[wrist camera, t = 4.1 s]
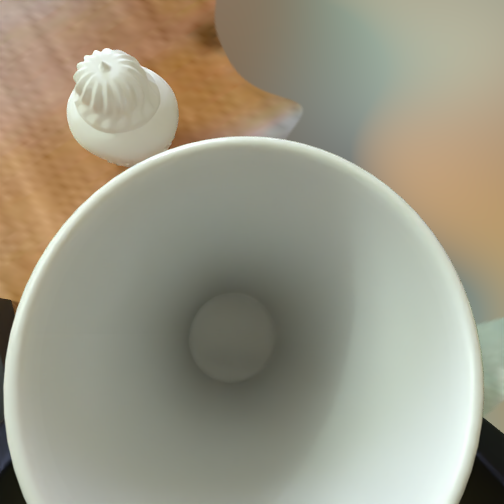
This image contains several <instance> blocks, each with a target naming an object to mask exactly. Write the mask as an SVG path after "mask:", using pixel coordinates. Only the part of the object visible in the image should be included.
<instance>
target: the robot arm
mask: <svg viewBox="0 0 504 504" xmlns="http://www.w3.org/2000/svg"><path fill="white" fill-rule="evenodd" d="M0 504H27V503H26V501H25V499H24V497H23V494H22V491H21V489H20V486H19V483H18V480H17V477H16V474H15V471H14V468H13V464H12V459H11V455H10V451H9V446H8V442H7V434H6V426H5V418H4V419H3V420H2V421H1V422H0ZM459 504H504V434H503V433H502V432H500V430H498V429H497V428H496V427H494V426H493V425H492V424H491V423H489V422H488V421H487V420H486V419H484V418H482V426H481V432H480V438H479V444H478V449H477V453H476V457H475V460H474V464H473V468H472V472H471V474H470V477H469V480H468V483H467V485H466V488H465V491H464V494H463V496H462V498H461V500H460V502H459Z"/></svg>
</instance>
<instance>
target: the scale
mask: <svg viewBox="0 0 504 504" xmlns="http://www.w3.org/2000/svg"><path fill="white" fill-rule="evenodd" d="M14 318H15V314H14V310H13V306H12V302H11V300H8V299H2V298H0V422H1V421H2V420H3V419H4V392H3V385H4V372H5V360H6V354H7V348H8V343H9V337H10V332H11V329H12V325H13V322H14Z"/></svg>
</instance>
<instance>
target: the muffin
mask: <svg viewBox="0 0 504 504" xmlns="http://www.w3.org/2000/svg"><path fill="white" fill-rule="evenodd" d="M77 69H78V71H77V72H76V73H75V74H74V76H73V79H74V81H75V82H76V85H75V88H74V90H73V92H72V93H71V95H70V98H69V100H68V104H67V119H68V124H69V127H70V130H71V132H72V134H73V136H74V138H75V139H76V140H77V142H78V143H79V144H80V145H81V146H82V147H83V148H85V149H86V150H87V151H89V152H91V153H92V154H94V155H96V156H98V157H100V158H102V159H105V160H107V161H108V162H109V163H114V164H117V165H121V166H126V167H132V166H134V165H136V164H138V163H140V162H142V161H144V160H146V159H148V158H150V157H152V156H154V155H157V154H159V153H162V152H164V151H167V149H168V148H169V147H170V145H171V142H172V140H173V139H174V137H175V132H176V129H177V125H178V117H179V114H178V105H177V101H176V97H175V95H174V93H173V91H172V89H171V87H170V86H169V85H168V84H167V82H166V81H165V80H164V79H162V78H161V77H160V76H159V75H157V74H156V73H154V72H153V71H151V70H149V69H147V68H145V67H142V66H140V64H139V62H138V61H137V60H136V59H135V58H134V57H132V56H130V55H128V54H126V53H125V52H123V51H121V50H111V49H108V48H106V49H104V50H103V51H102V52H100V51H97V50H95V51H94V52H93V54H92V55H91V56H90V55H85V56H84V62H80V63H78V64H77Z"/></svg>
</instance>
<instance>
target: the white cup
mask: <svg viewBox="0 0 504 504" xmlns="http://www.w3.org/2000/svg"><path fill="white" fill-rule="evenodd" d="M3 392H4V418H5V426H6V434H7V442H8V446H9V451H10V455H11V459H12V464H13V468H14V471H15V474H16V477H17V480H18V483H19V486H20V489H21V491H22V494H23V497H24V499H25V501H26V503H27V504H459V502H460V500H461V498H462V496H463V494H464V491H465V488H466V485H467V483H468V480H469V477H470V474H471V472H472V468H473V464H474V460H475V457H476V453H477V449H478V444H479V438H480V432H481V426H482V418H483V404H484V373H483V363H482V354H481V347H480V342H479V336H478V331H477V326H476V323H475V319H474V316H473V312H472V309H471V305H470V303H469V300H468V297H467V295H466V292H465V289H464V287H463V284H462V282H461V280H460V278H459V276H458V274H457V272H456V269H455V267H454V265H453V264H452V262H451V260H450V259H449V257H448V255H447V253H446V252H445V250H444V248H443V247H442V245H441V244H440V242H439V241H438V239H437V238H436V236H435V235H434V234H433V232H432V231H431V229H430V228H429V227H428V226H427V225H426V223H425V222H424V221H423V220H422V219H421V217H420V216H419V215H418V214H417V213H416V212H415V211H414V210H413V209H412V208H411V207H410V206H409V205H408V204H407V202H406V201H405V200H403V199H402V198H401V197H400V196H399V195H398V194H397V193H395V192H394V191H393V190H392V189H391V188H390V187H388V186H387V185H386V184H384V183H383V182H382V181H380V180H379V179H378V178H376V177H375V176H373V175H372V174H370V173H368V172H367V171H365V170H364V169H362V168H360V167H359V166H357V165H355V164H353V163H351V162H349V161H347V160H345V159H343V158H341V157H339V156H337V155H335V154H332V153H330V152H327V151H325V150H322V149H319V148H316V147H312V146H309V145H306V144H303V143H298V142H293V141H289V140H284V139H277V138H269V137H254V136H238V137H222V138H215V139H207V140H202V141H198V142H193V143H189V144H185V145H182V146H179V147H176V148H173V149H169V150H167V151H164V152H162V153H159V154H157V155H154V156H152V157H150V158H148V159H146V160H144V161H142V162H140V163H138V164H136V165H134V166H132V167H130V168H129V169H127V170H126V171H124V172H122V173H121V174H119V175H118V176H116V177H115V178H113V179H112V180H110V181H109V182H108V183H107V184H105V185H104V186H103V187H101V188H100V189H99V190H97V191H96V192H95V193H94V194H93V195H92V196H91V197H90V198H88V199H87V200H86V201H85V202H84V203H83V204H82V205H81V206H80V207H79V208H78V209H77V210H76V211H75V212H74V213H73V214H72V216H71V217H70V218H69V219H68V220H67V221H66V222H65V223H64V224H63V226H62V227H61V228H60V230H59V231H58V232H57V234H56V235H55V236H54V238H53V239H52V240H51V242H50V243H49V245H48V246H47V248H46V250H45V251H44V253H43V254H42V256H41V258H40V259H39V261H38V263H37V264H36V266H35V268H34V270H33V272H32V274H31V276H30V278H29V281H28V283H27V285H26V287H25V289H24V292H23V295H22V297H21V300H20V302H19V305H18V308H17V311H16V314H15V318H14V322H13V325H12V329H11V332H10V337H9V343H8V348H7V354H6V360H5V372H4V385H3Z"/></svg>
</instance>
